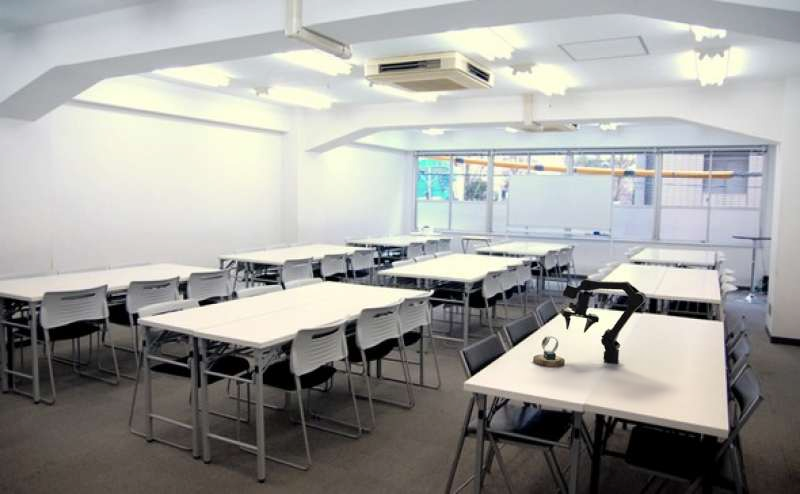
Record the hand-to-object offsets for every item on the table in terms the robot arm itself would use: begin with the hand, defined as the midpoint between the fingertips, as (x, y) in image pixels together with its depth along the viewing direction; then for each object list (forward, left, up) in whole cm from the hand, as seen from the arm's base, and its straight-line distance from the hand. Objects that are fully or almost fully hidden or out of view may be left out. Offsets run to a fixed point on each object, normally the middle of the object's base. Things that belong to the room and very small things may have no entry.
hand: (575, 330), depth 296 cm
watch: (+8, +21, -11) cm, 25 cm away
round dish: (+8, +21, -13) cm, 26 cm away
